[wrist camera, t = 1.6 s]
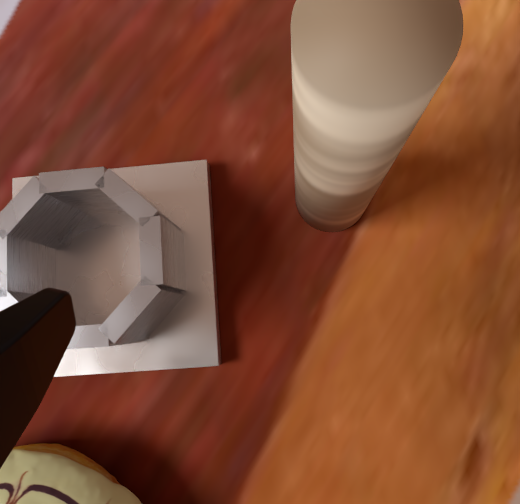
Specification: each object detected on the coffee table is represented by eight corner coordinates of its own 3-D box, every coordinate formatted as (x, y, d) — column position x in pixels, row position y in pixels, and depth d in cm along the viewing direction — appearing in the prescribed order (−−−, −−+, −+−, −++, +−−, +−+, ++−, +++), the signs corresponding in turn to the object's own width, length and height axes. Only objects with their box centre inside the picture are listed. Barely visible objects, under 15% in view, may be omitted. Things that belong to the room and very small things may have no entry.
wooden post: (370, 228, 22) (474, 95, 9) (298, 234, 22) (297, 113, 9) (363, 159, 22) (451, -62, 9) (292, 165, 22) (284, -42, 10)
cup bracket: (221, 364, 21) (201, 375, 17) (22, 377, 22) (-48, 391, 18) (209, 165, 23) (188, 127, 18) (22, 183, 23) (-43, 150, 19)
